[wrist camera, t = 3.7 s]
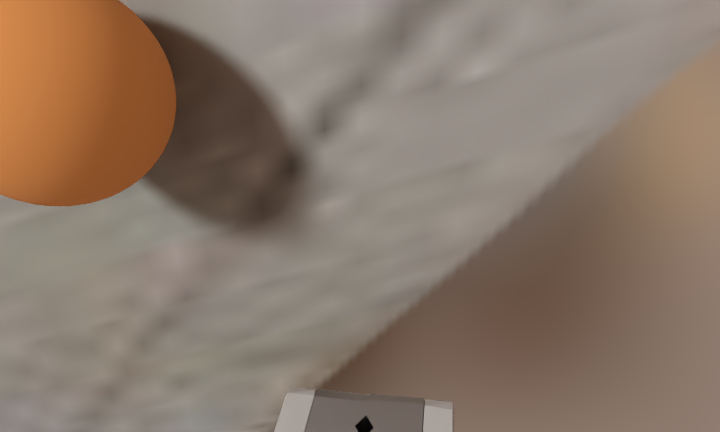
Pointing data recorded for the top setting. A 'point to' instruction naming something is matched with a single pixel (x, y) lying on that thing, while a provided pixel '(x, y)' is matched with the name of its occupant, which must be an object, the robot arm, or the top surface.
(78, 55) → the ball
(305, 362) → the top surface
